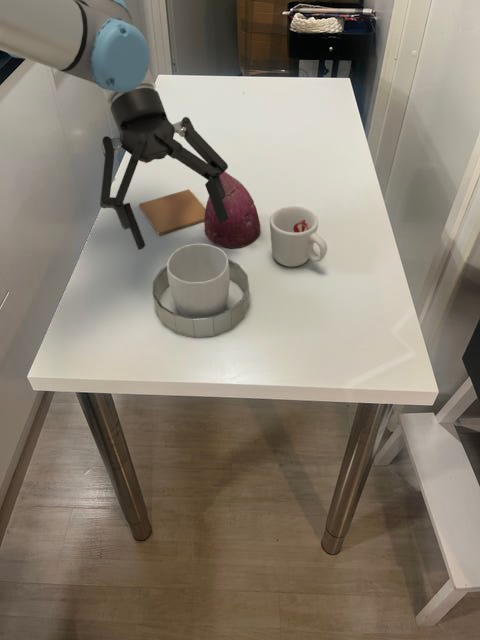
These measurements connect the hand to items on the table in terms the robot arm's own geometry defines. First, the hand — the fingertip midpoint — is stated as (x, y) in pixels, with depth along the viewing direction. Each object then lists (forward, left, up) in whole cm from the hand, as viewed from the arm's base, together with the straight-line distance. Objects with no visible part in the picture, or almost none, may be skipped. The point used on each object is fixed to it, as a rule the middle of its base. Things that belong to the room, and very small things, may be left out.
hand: (184, 234), depth 75 cm
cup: (+19, -4, -10) cm, 22 cm away
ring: (0, -5, -10) cm, 11 cm away
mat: (+6, +20, -10) cm, 24 cm away
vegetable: (+13, +9, -10) cm, 19 cm away
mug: (0, -5, -10) cm, 12 cm away
